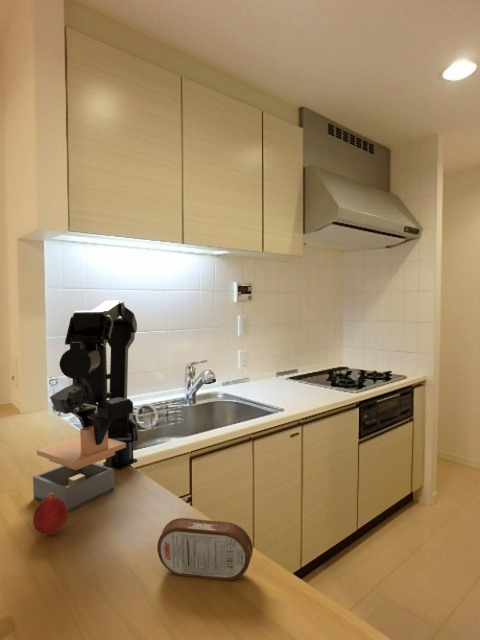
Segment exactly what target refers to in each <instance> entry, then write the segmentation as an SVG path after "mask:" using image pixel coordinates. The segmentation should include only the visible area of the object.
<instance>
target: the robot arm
mask: <svg viewBox="0 0 480 640" xmlns="http://www.w3.org/2000/svg"><path fill="white" fill-rule="evenodd" d="M137 330H138V322H137V319H136V316H135V314H134V312H133V311H132V310H131V309H129V308H128V307H126V305H125V302H124V301H122V300H105V301H103V302H102V303H101V304H100V305H98V306H96V307H95V308H93V309H91V310H75V311H74V312H73V314H72V316H71V317H70V319H69V324H68V327H67V332H66V336H65V340H64V345H66V346H68V345H69V349H68V350H66V351H64V352H63V353H62V355H61V357H60V360H59V369H60V371H61V373H62V374H63V375H64V376H65V377H67V378H68V379H72V384H70V385H68V386H65V387H64V388H62V389H61V390H58V391H57V392H55V393H53V394H52V395H50V397H49V398H50V401H51V403H52V405H53V408H54V411H55V412H57V413H58V412H59V413H63V414H65V415H67V414H72V415H74V417H77V418H78V420H79V422H80V424H81V427H82V429H83V428H86V427H89V426H94V434H95V441H96V445H99V444H101V443H102V441H103V439H104V437H105V435H106V433H107V430H108V438H109V439H113V440H117V441H120V442H124V443H126V447H125V448H123V449H120V450H118V451H115V455H114V456H111V457H108V458H106V459H105V461H104V462H102V465H103V466H106V467H109V468H112V469H114V470H117V471H118V470H122V469H124V468H127V467H128V466H131V465H133V464H135V463H137V462H138V459H137V458H134V443H135V442H138V441H139V431H138V427H137V426H138V425H137V424H136V421H135V419H134V402H133V401H132V400H131V399H130V398H128V378H129V377H128V373H129V372H128V370H129V367H128V365H129V349H130V347H131V345H132V344H133V342H134V341H135V335H136V333H137V332H138V331H137ZM107 344H108V345H109V347H110V358H109V359H110V362H109V364H110V365H109V373H108V365H107V364H108V363H107V361H108V359H107ZM108 380H109V390H108Z"/></svg>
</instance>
